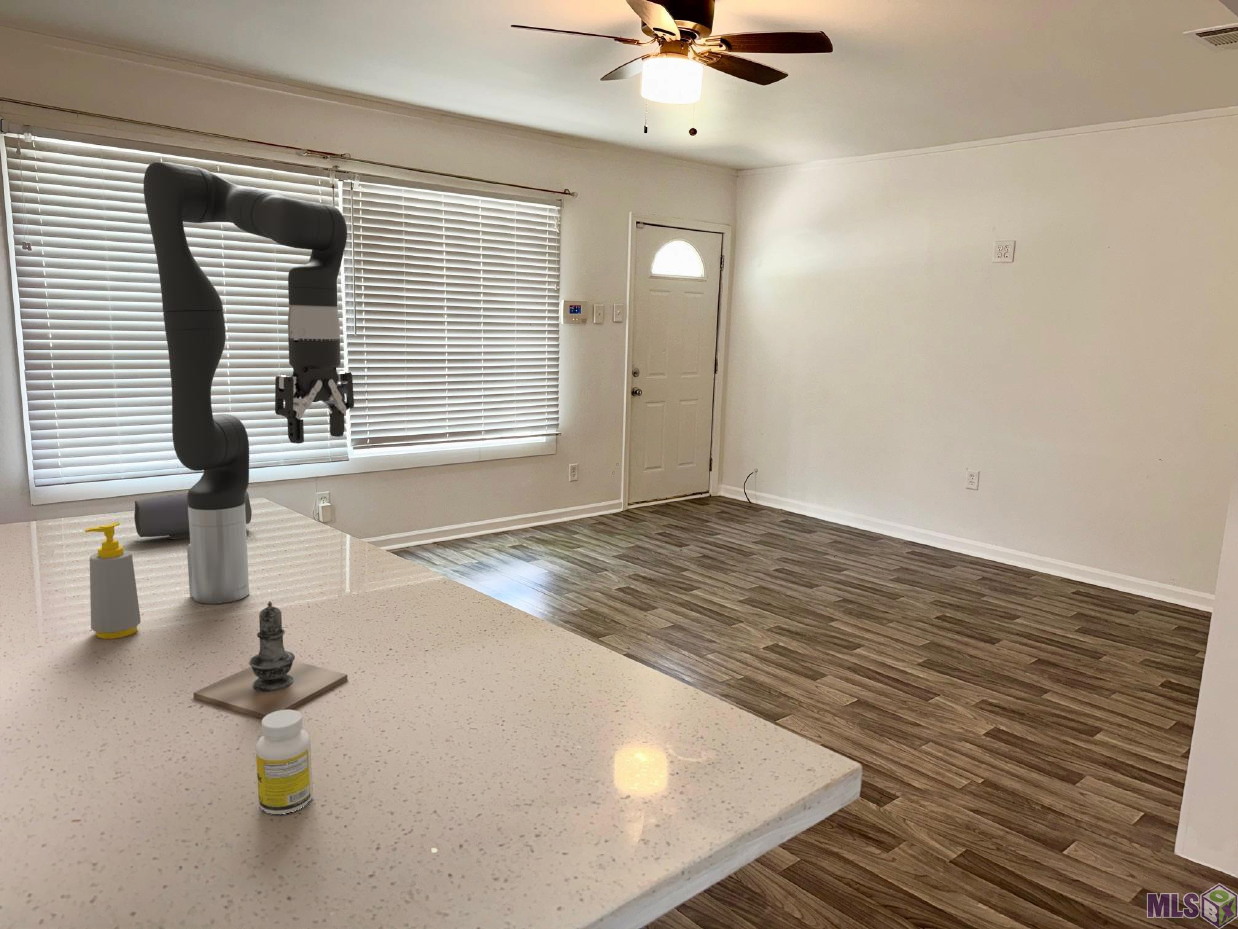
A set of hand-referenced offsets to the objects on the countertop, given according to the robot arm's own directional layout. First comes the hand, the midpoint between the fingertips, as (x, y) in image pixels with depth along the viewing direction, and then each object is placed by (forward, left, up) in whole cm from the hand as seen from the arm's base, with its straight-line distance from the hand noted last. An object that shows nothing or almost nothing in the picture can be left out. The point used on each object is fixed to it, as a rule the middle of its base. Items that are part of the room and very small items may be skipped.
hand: (317, 439), depth 129 cm
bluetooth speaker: (-67, +30, -32) cm, 80 cm away
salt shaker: (+9, -19, -32) cm, 38 cm away
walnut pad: (+9, -19, -32) cm, 38 cm away
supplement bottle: (+31, -38, -32) cm, 59 cm away
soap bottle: (-28, -16, -32) cm, 46 cm away
